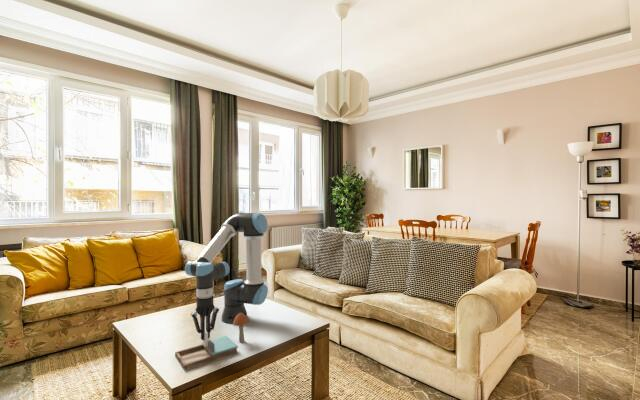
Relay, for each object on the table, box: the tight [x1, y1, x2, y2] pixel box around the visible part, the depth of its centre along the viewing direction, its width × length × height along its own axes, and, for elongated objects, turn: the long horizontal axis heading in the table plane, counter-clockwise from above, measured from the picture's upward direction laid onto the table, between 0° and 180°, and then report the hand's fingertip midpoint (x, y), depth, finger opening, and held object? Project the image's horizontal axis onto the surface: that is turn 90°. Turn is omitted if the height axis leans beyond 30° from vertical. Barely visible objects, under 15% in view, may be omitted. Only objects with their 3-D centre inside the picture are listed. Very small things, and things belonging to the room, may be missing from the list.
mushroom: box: [232, 313, 250, 343], centre depth 168 cm, size 8×8×15 cm
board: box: [174, 343, 238, 371], centre depth 154 cm, size 15×24×2 cm, turn 128°
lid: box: [201, 335, 239, 355], centre depth 158 cm, size 14×12×4 cm
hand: (205, 345), depth 154 cm, fingers closed
